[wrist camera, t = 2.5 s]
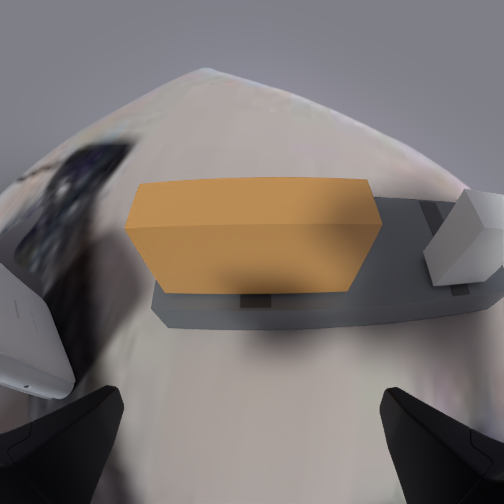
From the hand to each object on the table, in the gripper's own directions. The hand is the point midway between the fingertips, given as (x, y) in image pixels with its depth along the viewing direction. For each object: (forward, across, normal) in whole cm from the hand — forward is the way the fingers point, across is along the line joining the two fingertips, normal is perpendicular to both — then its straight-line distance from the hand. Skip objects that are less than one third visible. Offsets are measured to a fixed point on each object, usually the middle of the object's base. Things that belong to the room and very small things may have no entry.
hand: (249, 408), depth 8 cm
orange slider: (+12, 0, -1) cm, 12 cm away
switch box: (+16, -8, 0) cm, 18 cm away
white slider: (+12, -16, -1) cm, 20 cm away
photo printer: (+11, +19, +6) cm, 23 cm away
